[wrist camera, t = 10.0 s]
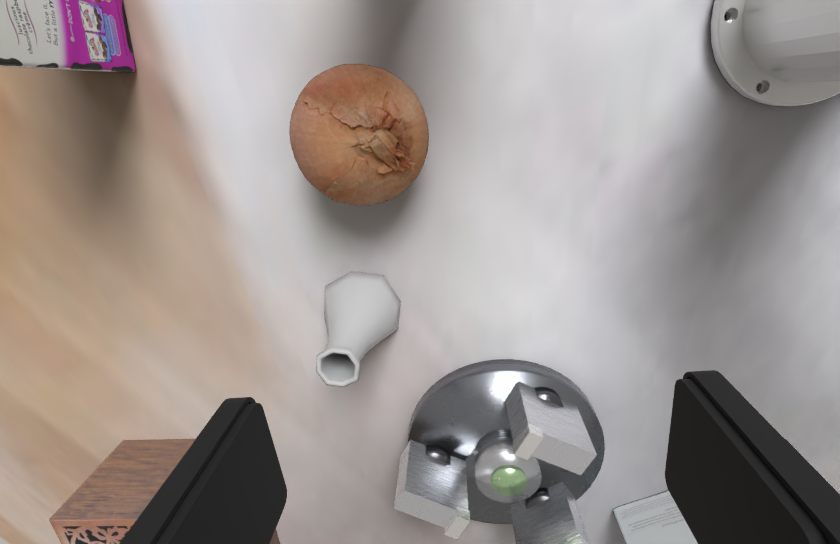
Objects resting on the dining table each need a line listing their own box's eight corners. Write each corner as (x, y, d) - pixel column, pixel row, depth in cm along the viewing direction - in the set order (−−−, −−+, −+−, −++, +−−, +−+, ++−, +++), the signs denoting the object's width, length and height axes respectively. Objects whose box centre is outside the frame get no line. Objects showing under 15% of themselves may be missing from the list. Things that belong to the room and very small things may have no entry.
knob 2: (507, 501, 45) (516, 565, 39) (560, 477, 44) (578, 539, 38) (525, 523, 46) (537, 588, 40) (578, 499, 45) (599, 564, 39)
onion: (419, 117, 37) (481, 121, 29) (361, 214, 38) (405, 246, 29) (320, 40, 32) (359, 17, 24) (257, 152, 33) (272, 169, 25)
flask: (409, 334, 42) (398, 403, 32) (336, 346, 43) (304, 416, 33) (391, 263, 39) (373, 315, 30) (313, 277, 40) (273, 332, 31)
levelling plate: (601, 353, 41) (623, 389, 36) (594, 504, 48) (612, 553, 43) (398, 365, 43) (391, 402, 38) (419, 510, 50) (416, 557, 45)
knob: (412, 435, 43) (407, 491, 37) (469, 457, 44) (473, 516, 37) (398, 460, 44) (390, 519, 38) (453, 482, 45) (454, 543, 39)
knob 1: (559, 429, 42) (578, 486, 36) (501, 405, 41) (510, 459, 35) (579, 400, 40) (603, 455, 34) (520, 375, 40) (533, 426, 34)
